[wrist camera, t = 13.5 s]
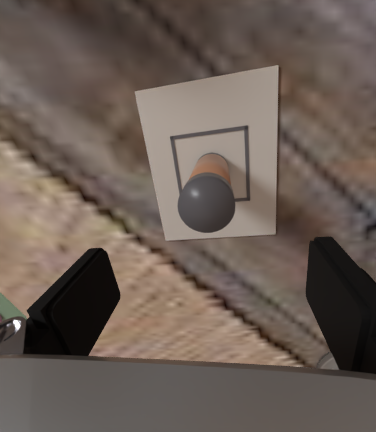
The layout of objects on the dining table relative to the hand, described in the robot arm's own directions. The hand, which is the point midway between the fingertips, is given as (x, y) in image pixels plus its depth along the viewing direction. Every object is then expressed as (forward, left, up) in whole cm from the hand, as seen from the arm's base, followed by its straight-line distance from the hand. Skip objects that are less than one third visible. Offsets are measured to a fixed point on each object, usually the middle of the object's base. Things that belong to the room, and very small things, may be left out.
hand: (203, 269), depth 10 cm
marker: (0, 0, -19) cm, 19 cm away
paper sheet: (0, 0, -19) cm, 19 cm away
